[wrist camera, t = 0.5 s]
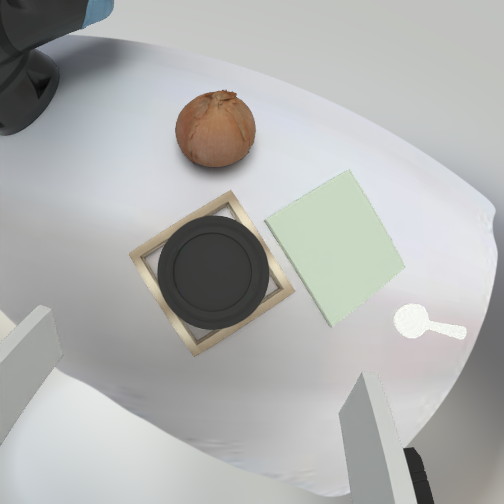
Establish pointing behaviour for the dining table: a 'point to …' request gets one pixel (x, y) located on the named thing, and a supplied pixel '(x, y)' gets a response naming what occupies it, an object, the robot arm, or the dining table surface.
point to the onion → (215, 129)
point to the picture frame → (153, 285)
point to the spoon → (422, 323)
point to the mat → (337, 246)
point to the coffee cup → (213, 272)
